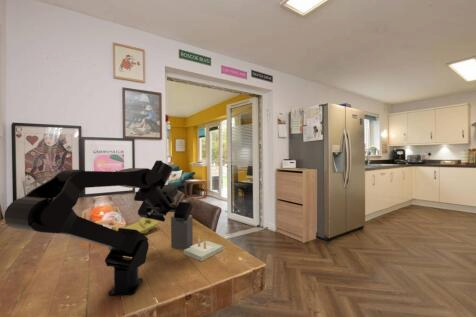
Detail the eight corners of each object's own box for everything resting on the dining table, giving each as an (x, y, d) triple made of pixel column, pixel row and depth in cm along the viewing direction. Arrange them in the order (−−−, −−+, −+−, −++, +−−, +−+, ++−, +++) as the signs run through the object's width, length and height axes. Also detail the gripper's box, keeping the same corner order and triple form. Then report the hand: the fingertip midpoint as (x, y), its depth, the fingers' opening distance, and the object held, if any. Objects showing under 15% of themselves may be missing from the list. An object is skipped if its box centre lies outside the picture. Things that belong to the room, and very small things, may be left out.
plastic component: (125, 238, 87) (111, 224, 91) (121, 252, 89) (108, 238, 93) (163, 221, 105) (150, 210, 109) (159, 233, 107) (146, 222, 111)
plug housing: (187, 249, 81) (187, 217, 81) (171, 247, 83) (171, 216, 83) (192, 245, 85) (192, 215, 85) (177, 243, 87) (176, 213, 87)
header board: (201, 261, 72) (201, 249, 72) (183, 253, 78) (183, 242, 78) (223, 249, 81) (222, 239, 81) (205, 243, 86) (205, 233, 86)
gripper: (189, 178, 71) (204, 204, 82) (143, 177, 77) (162, 201, 87) (176, 207, 64) (194, 231, 75) (126, 203, 69) (149, 226, 80)
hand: (174, 221), depth 79 cm, fingers open, 9 cm apart
